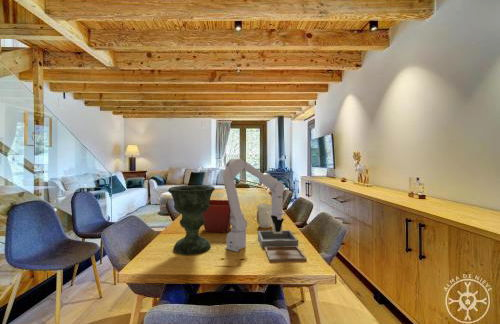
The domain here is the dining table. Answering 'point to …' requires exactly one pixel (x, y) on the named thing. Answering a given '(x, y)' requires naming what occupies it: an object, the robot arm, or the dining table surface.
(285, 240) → the bin
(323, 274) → the dining table surface
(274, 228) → the block
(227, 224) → the plant pot
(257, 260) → the dining table surface
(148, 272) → the dining table surface
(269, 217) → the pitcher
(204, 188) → the goblet
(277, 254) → the tray
